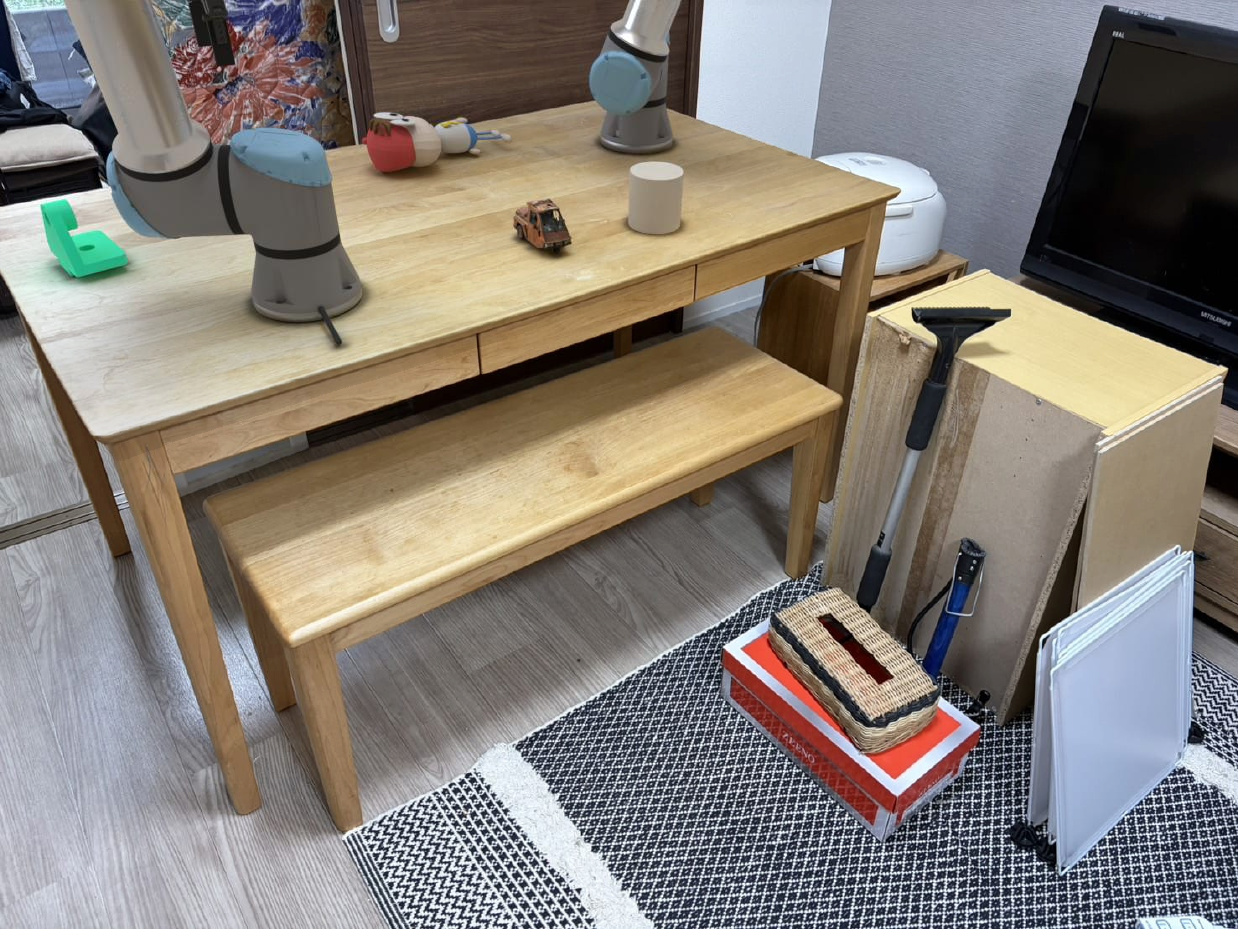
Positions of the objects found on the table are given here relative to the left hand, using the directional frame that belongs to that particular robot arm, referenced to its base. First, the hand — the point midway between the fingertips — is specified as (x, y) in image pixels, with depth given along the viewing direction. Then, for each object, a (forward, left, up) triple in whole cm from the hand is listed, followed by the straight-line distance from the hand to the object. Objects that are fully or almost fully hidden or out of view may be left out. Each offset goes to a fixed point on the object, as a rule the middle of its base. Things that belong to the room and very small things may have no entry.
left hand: (216, 55), depth 147 cm
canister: (-38, -60, -25) cm, 75 cm away
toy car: (-37, -39, -25) cm, 59 cm away
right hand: (+14, -45, +3) cm, 47 cm away
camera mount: (-13, +26, -25) cm, 38 cm away
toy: (+9, -39, -25) cm, 47 cm away
